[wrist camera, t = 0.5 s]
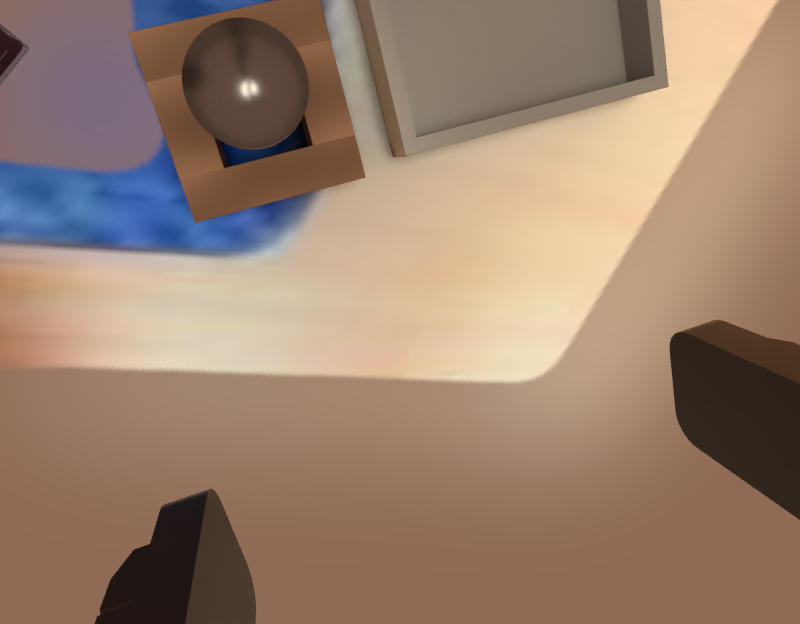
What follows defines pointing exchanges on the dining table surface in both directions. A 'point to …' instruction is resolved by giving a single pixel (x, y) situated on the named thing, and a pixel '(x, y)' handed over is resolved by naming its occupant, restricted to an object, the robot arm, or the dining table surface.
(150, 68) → the pin holder
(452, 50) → the tray
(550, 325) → the dining table surface
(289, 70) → the lock pin
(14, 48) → the supplement box
